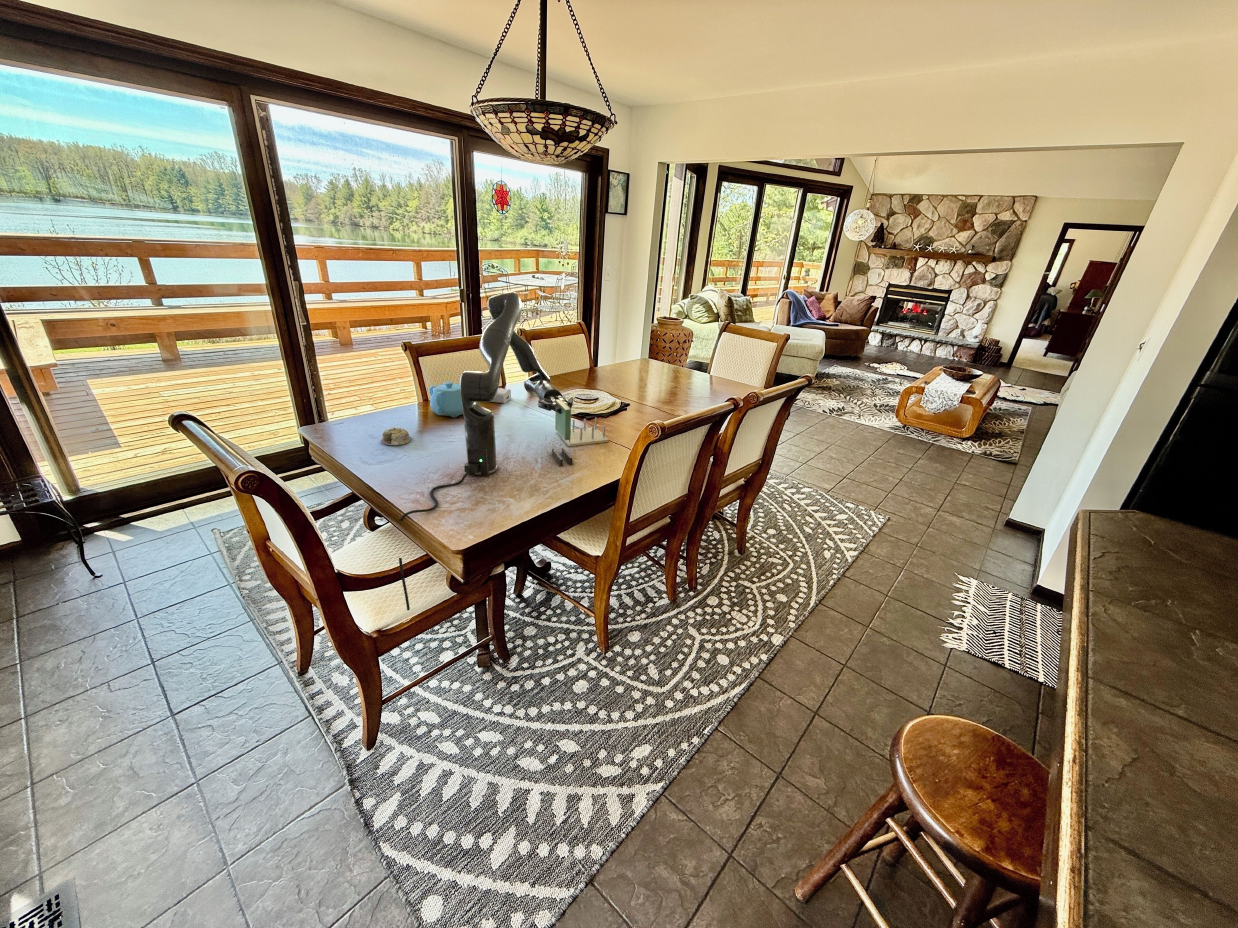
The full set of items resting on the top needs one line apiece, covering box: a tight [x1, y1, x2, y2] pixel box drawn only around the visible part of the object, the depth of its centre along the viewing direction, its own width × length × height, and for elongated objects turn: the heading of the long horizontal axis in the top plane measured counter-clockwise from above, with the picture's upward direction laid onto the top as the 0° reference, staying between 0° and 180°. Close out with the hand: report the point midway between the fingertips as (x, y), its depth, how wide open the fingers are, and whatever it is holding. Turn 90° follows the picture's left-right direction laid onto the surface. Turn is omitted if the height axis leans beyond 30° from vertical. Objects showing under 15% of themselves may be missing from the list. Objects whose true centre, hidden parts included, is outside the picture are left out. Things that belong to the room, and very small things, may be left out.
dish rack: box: [557, 417, 610, 447], centre depth 190 cm, size 14×16×6 cm
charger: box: [491, 387, 512, 404], centre depth 225 cm, size 5×9×15 cm
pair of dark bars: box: [551, 446, 573, 467], centre depth 171 cm, size 10×4×2 cm, turn 24°
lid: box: [554, 399, 572, 441], centre depth 166 cm, size 11×2×11 cm, turn 24°
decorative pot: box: [428, 381, 463, 418], centre depth 204 cm, size 16×16×14 cm
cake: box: [381, 427, 412, 446], centre depth 176 cm, size 10×10×5 cm
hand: (564, 410), depth 164 cm, fingers closed on lid, 2 cm apart
